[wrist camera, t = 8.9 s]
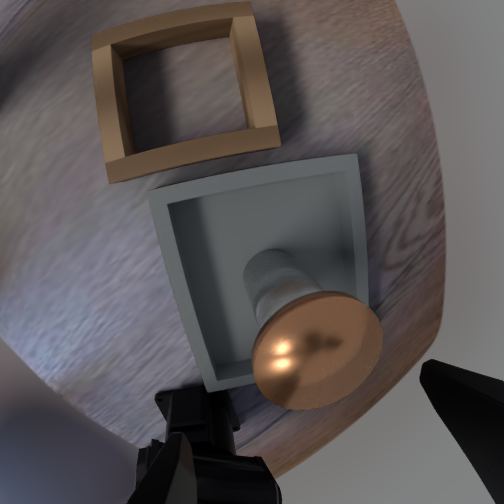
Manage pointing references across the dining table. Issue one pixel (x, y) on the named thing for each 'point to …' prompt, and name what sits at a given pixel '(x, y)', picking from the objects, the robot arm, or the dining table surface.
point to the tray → (256, 248)
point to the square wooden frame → (168, 35)
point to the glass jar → (307, 335)
